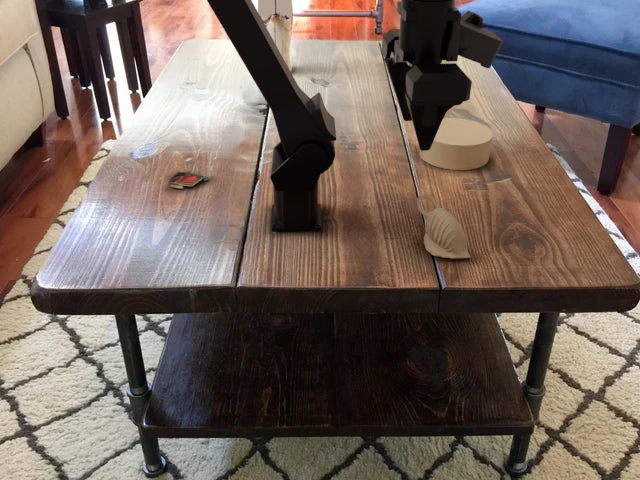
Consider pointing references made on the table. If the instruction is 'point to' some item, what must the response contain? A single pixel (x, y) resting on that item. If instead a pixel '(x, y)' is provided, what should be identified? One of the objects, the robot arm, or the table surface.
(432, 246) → the decorative ornament
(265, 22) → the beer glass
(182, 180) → the matchbox
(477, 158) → the ceramic puck
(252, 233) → the table surface
